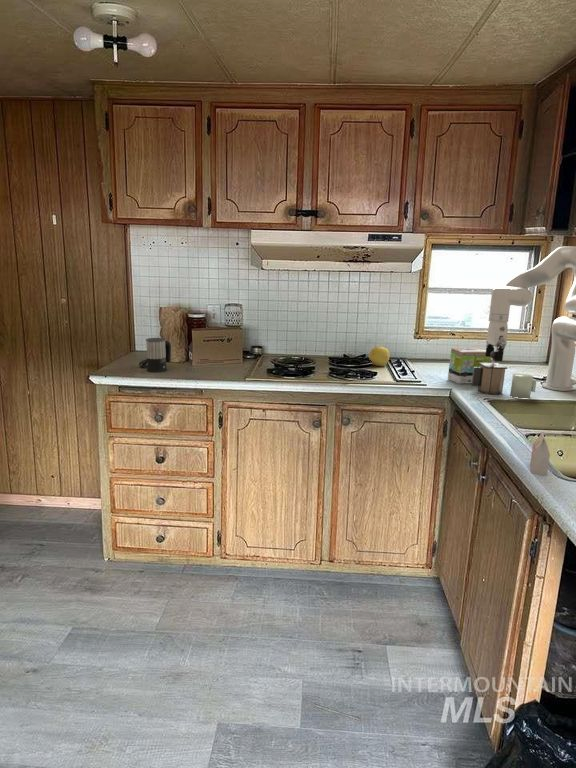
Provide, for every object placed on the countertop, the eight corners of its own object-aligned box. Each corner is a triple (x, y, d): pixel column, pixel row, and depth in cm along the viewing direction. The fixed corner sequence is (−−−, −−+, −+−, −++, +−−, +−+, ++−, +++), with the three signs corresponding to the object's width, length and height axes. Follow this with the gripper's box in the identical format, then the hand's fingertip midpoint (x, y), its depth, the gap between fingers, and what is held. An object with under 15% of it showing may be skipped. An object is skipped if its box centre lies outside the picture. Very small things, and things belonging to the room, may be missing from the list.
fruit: (392, 365, 272) (393, 346, 270) (382, 368, 264) (383, 349, 262) (374, 362, 279) (376, 343, 276) (364, 365, 270) (365, 346, 268)
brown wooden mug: (496, 389, 229) (500, 362, 226) (506, 395, 219) (509, 367, 217) (467, 388, 229) (470, 362, 226) (475, 394, 219) (478, 367, 216)
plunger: (494, 386, 227) (499, 349, 223) (500, 390, 221) (505, 352, 217) (479, 386, 227) (484, 349, 223) (485, 390, 221) (489, 352, 217)
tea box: (459, 384, 236) (463, 352, 232) (447, 379, 245) (450, 348, 242) (488, 383, 240) (492, 351, 236) (474, 378, 249) (478, 347, 246)
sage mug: (528, 394, 221) (531, 373, 219) (537, 399, 214) (540, 378, 212) (507, 394, 221) (509, 373, 219) (514, 399, 214) (517, 377, 212)
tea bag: (544, 466, 145) (550, 432, 142) (546, 476, 139) (552, 440, 136) (530, 464, 146) (535, 430, 144) (531, 473, 140) (536, 438, 138)
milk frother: (162, 373, 242) (161, 341, 238) (130, 371, 244) (128, 339, 241) (173, 366, 256) (172, 336, 252) (143, 364, 258) (141, 334, 254)
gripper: (516, 320, 208) (511, 363, 212) (499, 315, 225) (494, 355, 229) (497, 320, 208) (492, 362, 212) (481, 315, 225) (477, 354, 229)
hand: (493, 358), depth 221 cm, fingers open, 9 cm apart
